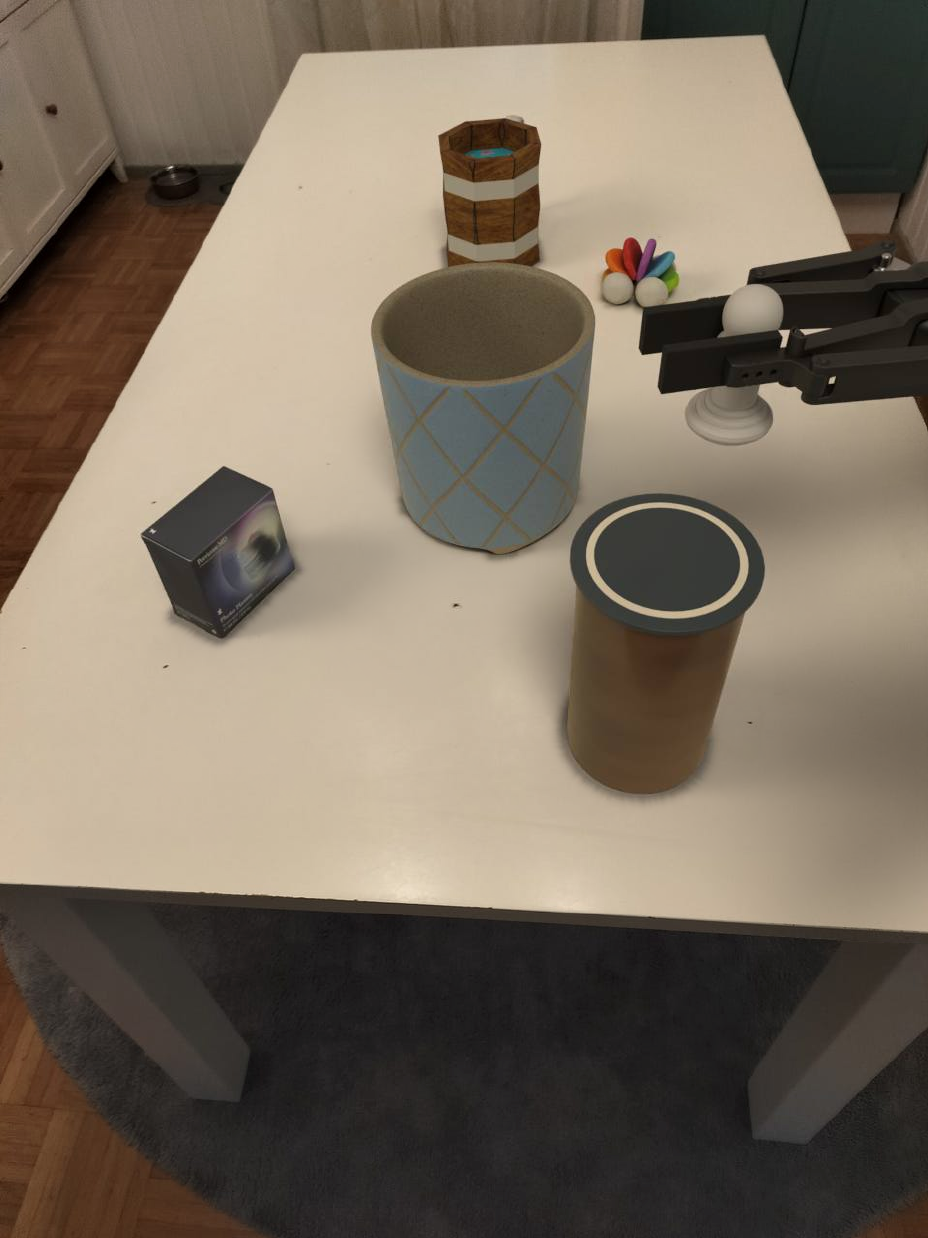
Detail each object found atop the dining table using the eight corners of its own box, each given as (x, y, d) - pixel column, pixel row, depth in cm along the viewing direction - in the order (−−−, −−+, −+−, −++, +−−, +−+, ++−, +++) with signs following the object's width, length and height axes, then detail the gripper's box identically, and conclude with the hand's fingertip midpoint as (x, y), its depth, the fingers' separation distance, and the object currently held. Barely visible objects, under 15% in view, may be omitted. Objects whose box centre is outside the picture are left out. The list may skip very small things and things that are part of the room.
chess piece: (766, 397, 57) (799, 264, 50) (776, 450, 53) (813, 315, 46) (681, 395, 57) (702, 263, 50) (686, 448, 54) (709, 314, 47)
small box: (224, 643, 79) (190, 563, 71) (172, 615, 82) (134, 534, 74) (299, 568, 85) (275, 486, 77) (249, 544, 87) (221, 462, 79)
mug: (526, 286, 115) (525, 167, 104) (429, 274, 119) (419, 158, 107) (564, 216, 127) (567, 103, 116) (475, 207, 130) (470, 96, 119)
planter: (359, 512, 89) (324, 338, 74) (471, 414, 99) (461, 241, 83) (512, 591, 81) (508, 415, 66) (619, 477, 91) (638, 298, 75)
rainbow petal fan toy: (610, 272, 116) (614, 217, 111) (683, 282, 114) (691, 227, 108) (592, 305, 112) (595, 250, 106) (668, 317, 109) (676, 261, 103)
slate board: (805, 589, 54) (807, 583, 53) (638, 665, 51) (639, 660, 50) (687, 475, 61) (688, 470, 60) (535, 536, 58) (535, 531, 57)
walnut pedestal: (734, 757, 69) (793, 586, 54) (614, 817, 66) (641, 656, 51) (653, 659, 76) (685, 482, 60) (542, 710, 73) (545, 539, 57)
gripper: (1096, 435, 49) (686, 494, 48) (949, 286, 60) (611, 331, 58) (1171, 313, 43) (708, 376, 42) (994, 172, 54) (620, 219, 53)
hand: (652, 350), depth 50 cm, fingers closed on chess piece, 3 cm apart
